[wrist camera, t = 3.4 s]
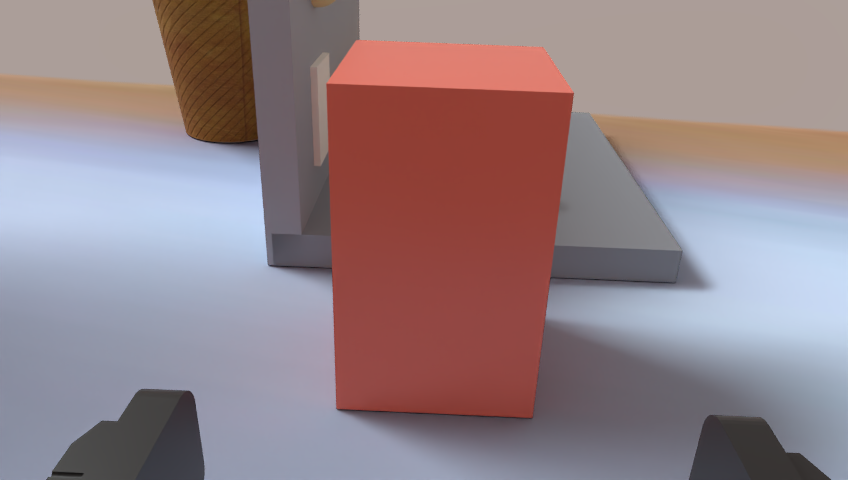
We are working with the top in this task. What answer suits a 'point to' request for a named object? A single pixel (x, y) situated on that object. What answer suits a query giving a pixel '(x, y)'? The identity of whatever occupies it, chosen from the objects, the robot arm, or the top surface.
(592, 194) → the grey peg stand
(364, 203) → the tall coral upright block
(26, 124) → the top surface
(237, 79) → the disposable coffee cup
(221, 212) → the top surface
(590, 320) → the top surface
